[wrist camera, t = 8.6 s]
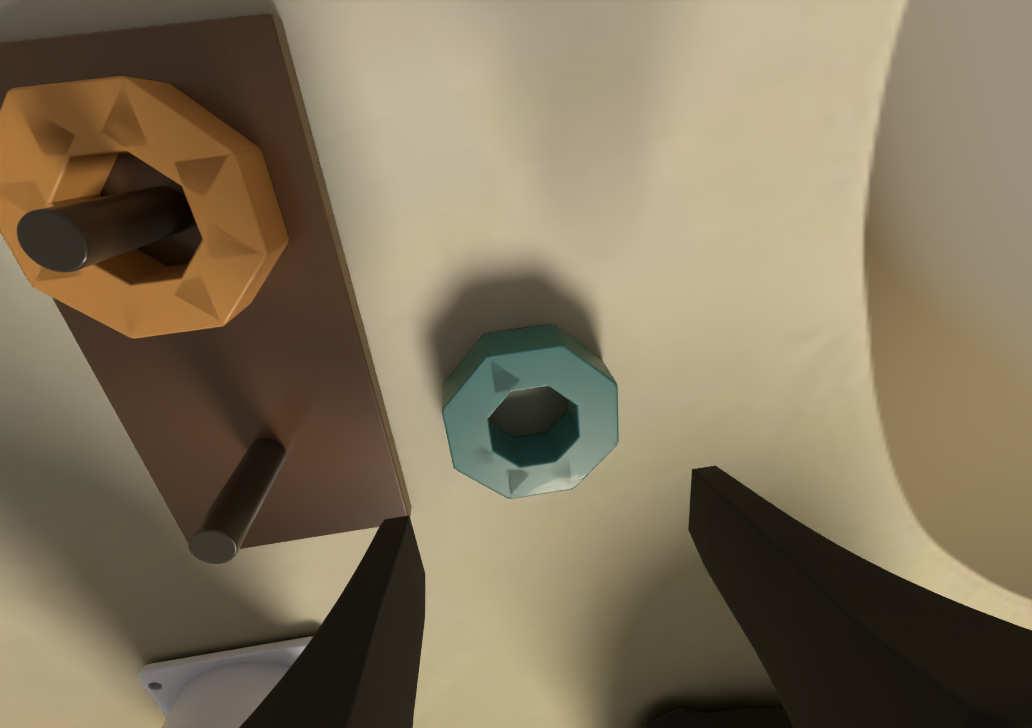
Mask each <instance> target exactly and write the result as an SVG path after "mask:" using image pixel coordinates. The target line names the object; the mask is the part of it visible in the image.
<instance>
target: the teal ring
mask: <svg viewBox="0 0 1032 728" xmlns="http://www.w3.org/2000/svg"><path fill="white" fill-rule="evenodd" d="M546 386H549V387H550V388H552V389H553V390H555V391H556V392H558V393H559V394H561V395H562V396H564V397H565V398H567V404H568V411H567V412H566V413H565V414H564V415H563V416H562V417H561V418H560V419H559V420H558V421H557V422H556V424H555V425H554V426H553V427H552V428H551V429H550V430H549V431H548V432H547V433H541V434H534V435H528V436H521V437H513V436H512V435H510V434H508V433H507V432H505V431H503V430H502V429H500V428H499V427H497V426H495V425H494V424H492V423H490V420H489V417H490V416H491V414H492V413H493V412H494V411H495V410H496V409H497V407H498V406H499V405H500V404H501V403H502V402H503V400H504V399H505V398H506V397H507V396H508V395H509V394H510V392H512V391H519V390H526V389H532V388H539V387H546ZM442 414H443V419H444V424H445V428H446V433H447V438H448V443H449V448H450V453H451V457H452V462H453V467H454V469H456V470H457V471H459V472H461V473H463V474H464V475H466V476H468V477H470V478H472V479H473V480H475V481H477V482H479V483H481V484H482V485H484V486H486V487H488V488H490V489H491V490H493V491H495V492H497V493H499V494H500V495H502V496H504V497H506V498H509V499H513V498H519V497H526V496H532V495H538V494H544V493H551V492H557V491H563V490H569V489H573V488H575V487H576V486H577V485H578V484H579V483H580V482H581V481H582V480H583V479H584V478H585V477H586V476H587V475H588V474H589V473H590V472H591V471H592V470H593V469H594V468H595V467H596V466H597V465H598V464H599V463H600V462H601V461H602V460H603V459H604V458H605V457H606V456H607V455H608V454H609V453H610V452H611V451H612V450H613V448H614V447H615V446H616V445H617V443H618V441H619V436H618V386H617V383H616V381H615V380H614V378H613V377H612V375H611V373H610V372H609V370H608V369H607V367H606V365H605V364H604V362H603V361H602V360H601V359H600V358H599V357H597V356H596V355H595V354H593V353H592V352H591V351H589V350H588V349H587V348H585V347H584V346H583V345H581V344H580V343H578V342H577V341H576V340H574V339H573V338H572V337H570V336H569V335H568V334H566V333H565V332H564V331H562V330H561V329H560V328H558V327H557V326H556V325H552V324H551V325H544V326H537V327H530V328H523V329H516V330H509V331H502V332H495V333H488V334H484V335H483V336H482V337H481V338H480V339H479V341H478V342H477V343H476V344H475V346H474V347H473V348H472V349H471V351H470V352H469V353H468V354H467V355H466V357H465V358H464V359H463V360H462V362H461V363H460V364H459V365H458V367H457V368H456V369H455V370H454V372H453V373H452V374H451V375H450V377H449V378H448V379H447V380H446V382H445V383H444V386H443V401H442Z"/></svg>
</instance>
